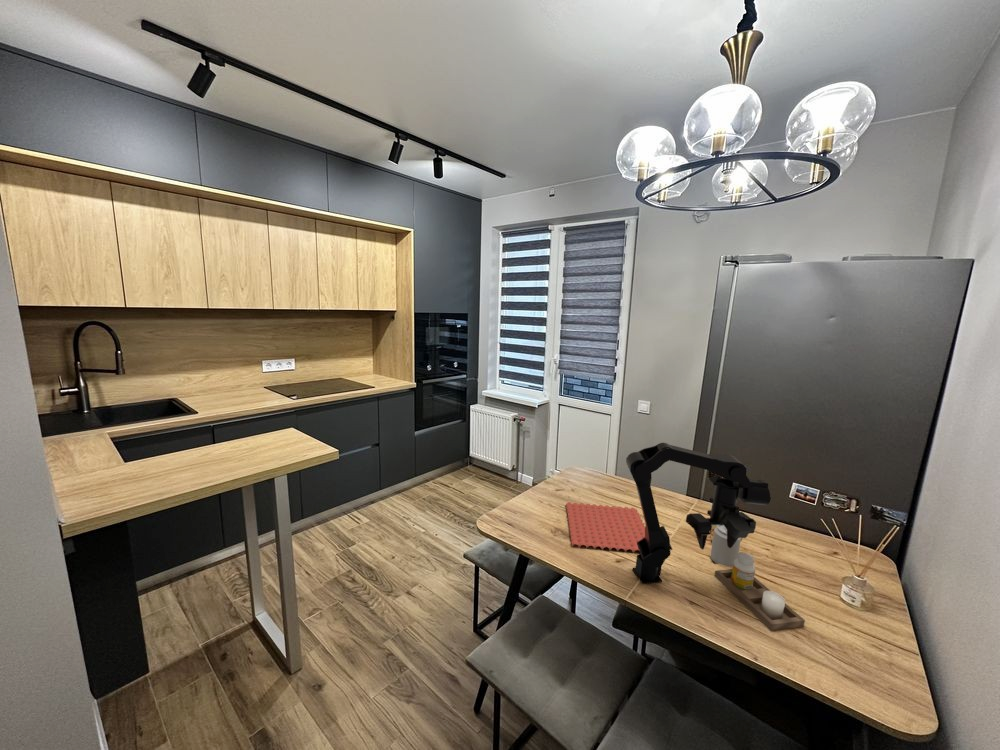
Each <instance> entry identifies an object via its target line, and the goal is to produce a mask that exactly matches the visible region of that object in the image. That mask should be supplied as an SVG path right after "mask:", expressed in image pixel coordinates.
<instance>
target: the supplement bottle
mask: <svg viewBox="0 0 1000 750" xmlns="http://www.w3.org/2000/svg"><path fill="white" fill-rule="evenodd" d="M754 562H755V558H754V556H752V555H751V554H749V553H747V552H740V551H739V553H738V557H737V559H735V560H734V563H733V566H732V568H731V569H732V576H731V582H732V583H733V584H734V585H735V586H736V587H737V588H738V589H739V590H740V591H743V590H752V586H753V580H754V577H755V573H756V566H755V563H754Z"/></svg>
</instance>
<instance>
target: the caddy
mask: <svg viewBox="0 0 1000 750" xmlns="http://www.w3.org/2000/svg"><path fill="white" fill-rule="evenodd" d="M732 569H733V568H731V569H719V570H718V569H717V570H715V571H714V577H715V578H716V579H717V580H718V582H720V583H721V584H722V585H723V586H724V587H725V588H726V589H727V590H728V591H729V592H730V593H731V594H732V595H733V596H734V597H735V598H736V599H737V600H738V601H739V602H740V603H741V604H743V606H745V608H747V609H748V610H749V612H751V614H753V615H754V617H756V618H757V620H759V621H760V622H761V623H762V624H763V625H764V626H765V627H766V628H767V629H768V630H769V631H772V632H773V631H779V630H788V629H794V628H802V627H805V622H806V620H805V619H804V618H803V617H802V616H801V615H800V614H798V613H797V612H796V611H795V610H794V609H793V608H791V607H790V606H789V605H788V604H787V603H785V606H784V611H783V616H782V619H777V620H772V619H770V618H769V617H768V616H767V615H766V614H765V613H764V612H762V611H761V610H760V609H761V603H762V598H763V593H764V591H771V589H769V588H768V587H767V586H766V585H765V584H763V583H762V581H760V580H758V578H756V577H755V576H754V580H753V586H752V590H743V591H740V590H739V589H738V588H737V587H736V586H735V585H734V584H733V583H732V582H731V576H732Z"/></svg>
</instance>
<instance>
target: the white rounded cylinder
mask: <svg viewBox="0 0 1000 750" xmlns="http://www.w3.org/2000/svg"><path fill="white" fill-rule="evenodd" d="M785 604H786V599H785V598H784V596H782V595H781V594H779V593H777V592H775V591H773V590H770V591H764V593H763V598H762V603H761V609H760V610H761V611H762V612H764V613H765V614H766V615H767V616H768V617H769V618H770V619H772V620H777V619H782V616H783V611H784V606H785Z"/></svg>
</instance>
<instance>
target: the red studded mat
mask: <svg viewBox="0 0 1000 750" xmlns="http://www.w3.org/2000/svg"><path fill="white" fill-rule="evenodd" d="M565 507H566V513H567V514H566V516H567V520H568V522H567V523H568V528H569V529H568V530H569V537H570V544H571V547H572V548H574V547H573V546H574V545H576V546H578V548H579V549H580V548H581V546H585V547H586V548H585V549H587V550H588V548H589V547H592V548H593V550H596V548H597V547H600V549H601V551H604V548H608V551H612V549H613V548H614V549H616V552H618V553H619V551H620V550H621V549H622V550H623V551H624V553H627V551H628V550H631V551H632V554H634V553H635V552H636V551H639V549H638V546H637V542H638V541H640V540H641V539H643V538H644V537H645V522H644V523H643V519H642V518H641V516H640V513H639V512H638V508H637V509H636V508H635V507H631V508H629V507H628V506H625V507H622V506H617V507H616V506H615V505H612V506H609V505H605V506H604V505H602V504H599V505H597V504H592V505H591V504H590V503H586V504H584V503H582V502H581V503H577V502H574V503H572V502H569V501H568V502H566V504H565Z"/></svg>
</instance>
